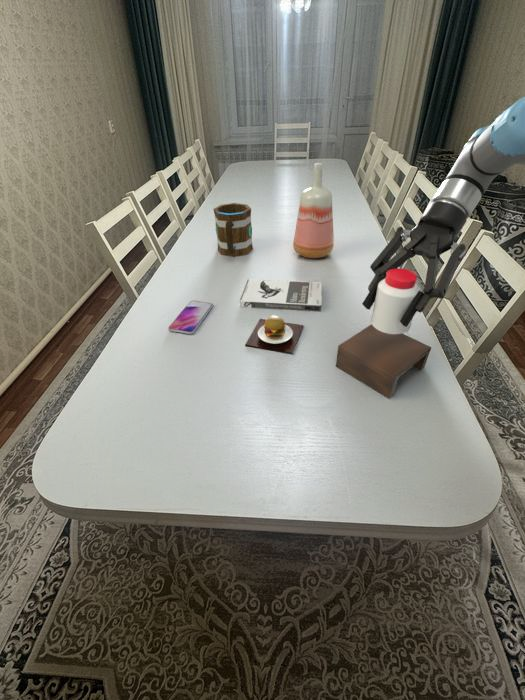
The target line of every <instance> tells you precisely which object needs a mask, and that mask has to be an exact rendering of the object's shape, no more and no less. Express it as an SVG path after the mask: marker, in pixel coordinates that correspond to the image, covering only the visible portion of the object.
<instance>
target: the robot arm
mask: <svg viewBox="0 0 525 700" xmlns="http://www.w3.org/2000/svg"><path fill="white" fill-rule="evenodd" d="M457 157H458V158H457V159H456V161H455V162H454V164H453V166H452V167H451V169H450V171H449V172H448V174H447V175H446V177H445V179H444V181H443V182H442V183H441V185H440V186H439V188H438V189H437V191H436V193H435V194H434V196H433V198H432V199H431V201H430V202H431V203H430V204H428V206H427V207H426V209H425V210H424V211H423V214H422V216H421V217H420V219H419V221H418V223H417V225H415V226H414V227H413V228H412V229H404V227H402V226H398V227H397V228H396V230H395V233H394V236H393V237H392V238H391V240H390V241H389V242H388V244H387V245H385V247H384V248H383V250H382V251H381V252H380V253H379V254H378V256H377V257H376V258H375V259H374V260H373V262H372V263H371V264H370V267H369V268H370V269H371V271H372V272H373V274H374V277H373V278H372V280H371V281H370V283H369V284H368V287H367V289H368V291H369V292H368V294H367V295H366V297H365V298H364V300H363V301H362V302H361V305H362V306H363V307H364V308H365V309H366V310H368V311H370V310H371V308H372V306H374V303H375V298H376V292H377V287H378V284H379V282H380V281H381V280H383V279H385V278H386V274H387V271H389V270H391V269H395V268H401V266H402V265H403V264H405V263H406V262H407V261H408V260H409V259H412V258H414V257H415V256H419V257H420V256H422V257H424V258H426V259H428V263H427V270H426V276H425V283H424V288H423V291H421V290H420V291H418V293H417V294H416V296H415V298H414V299H413V301H412V302H411V304H410V306H409V307H408V309H407V310H406V312H405V314H404V315H403V317H402V318H401V320H400V322H401V323H402V325H403V326H405V327H407V326H408V324H409V323H410V321H411V320H412V321H413V319H412V318H414V317H415V315H416V314H417V312H418V313H422V312H423V311H424V310H425V308H426V306H428V304H429V301H430V300H431V299H433V298H437V299H440V300H442V299H445V296H446V294H447V292H448V290H449V287H450V285H451V282H452V280H453V278H454V275H455V273H456V271H457V268H458V266H459V263H461V261H462V260H463V259H464V257H466V256H467V253H468V251H467V248H466V244H464V243H461V244H459V243H457V242H456V239H457V237H459V235H460V233H461V231H462V230H463V228H464V227H465V225H466V223H467V221H468V219H469V218H470V217H471V215H472V214H473V212H474V211H475V209H476V207H477V206H478V204H479V202H480V201H481V199H482V197H483V196H484V195H485V193H486V192H487V190H488V188H489V187H490V185H491V184H492V182H493V180H494V179H495V178H496V177H497V176H499V175H501V174H502V173H504V172H505V171H507V170H508V169H510V168H511V167H513V166H514V165H519V164H524V165H525V96H523V97H521V98H520V99H518V100H517V101H515V102H514V103H513V104H511V106H510V107H508V108H507V109H506V110H503V111H502V112H501V113H500V114H499V115H498V116H496V118H495V120H494V121H493V122H492V123H491V124H490V125H487V126H485V127H480V128H478V129H476V130H475V131H474V133H473V134H472V135H471V137H470V138H469V139H468V141H467V142H466V143H465V144H464V146H463V147H462V150H461V152H460V154H459V156H457ZM409 238H410V241H408V242H407V239H409ZM405 242H407V243H406V244H405V245H404V246H403V248H402V249H401V250H399V249H400V248H401V246H402V245H403V243H405ZM398 250H399V252H398ZM448 251H450V256H449V257H448V260H447V263H446V265H445V267H444V269H443V272H442V274H441V276H440V279H439V281H438V283H437V286H436V282H437V274H438V267H439V264H440V257H441V255H442V254H445V253H446V252H448ZM397 252H398V253H397Z"/></svg>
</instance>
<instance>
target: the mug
mask: <svg viewBox="0 0 525 700" xmlns="http://www.w3.org/2000/svg"><path fill="white" fill-rule="evenodd" d="M212 210H213V213H214V219H215V233H216V234H215V235H216V237H217V238H216V239H217V251H218V252H219V254H220V255H221V256H227V257H232V258H235V257H240V256H247V255H248V254H249V253H250V252H252V251H253V250H254V246H253V226H252V208H251V207H250V206H249V205H248V204H247V203H237V202H233V203H223V204H219V205H218V206H216V207H214V208H213V209H212Z"/></svg>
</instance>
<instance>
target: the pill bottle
mask: <svg viewBox="0 0 525 700" xmlns="http://www.w3.org/2000/svg"><path fill="white" fill-rule="evenodd" d="M417 279H418V275H417V273H416V272H414V271H412V270H410V269H407V268H401V267H398V268H395V269H391V270H389V271H387V274H386V278H385V279H383V280H381V281H380V282H379V284H378V287H377V292H376V298H375V302H374V303H373V308H372V314H371V317H370V318H371V319H370V323H371V324H372V325H373V327H375V328H376V329H377V330H379V331H381V332H384V333H388V334H405V333H407V332H408V331H409V330H410V328H411V325H412V322H413V318H414V317H413V318H412V320H411V321H410V323H409V324H408V326H407V327H405V326H403V325H402V323H401V322H400V320H401V318H402V317H403V315H404V314H405V312H406V310H407V309H408V307H409V306H410V304H411V302H412V301H413V299H414V298H415V296H416V294H417V293H418V291H421V288H420V286H419V285H418V284H417ZM371 324H370V325H371Z"/></svg>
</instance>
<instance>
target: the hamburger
mask: <svg viewBox="0 0 525 700" xmlns="http://www.w3.org/2000/svg"><path fill="white" fill-rule="evenodd" d="M303 329H304V325H303V324H298V323H290V322H285V320H284V319H283V318H282V317H281V316H278V315H272V316H269V317H267V318H266V319H265V318H259V320H258V321H257V323H256V325H255V327H254V329H253V330H252V332H251V334H250V335H249V336H248V339H247V341H246V342H245V344H244V346H245V347H249V348H254V349H260V350H265V351H271V352H276V353H283V354H289V355H293V354H294V352H295V349H296V347H297V345H298V341H299V339H300V336H301V334H302V331H303Z"/></svg>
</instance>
